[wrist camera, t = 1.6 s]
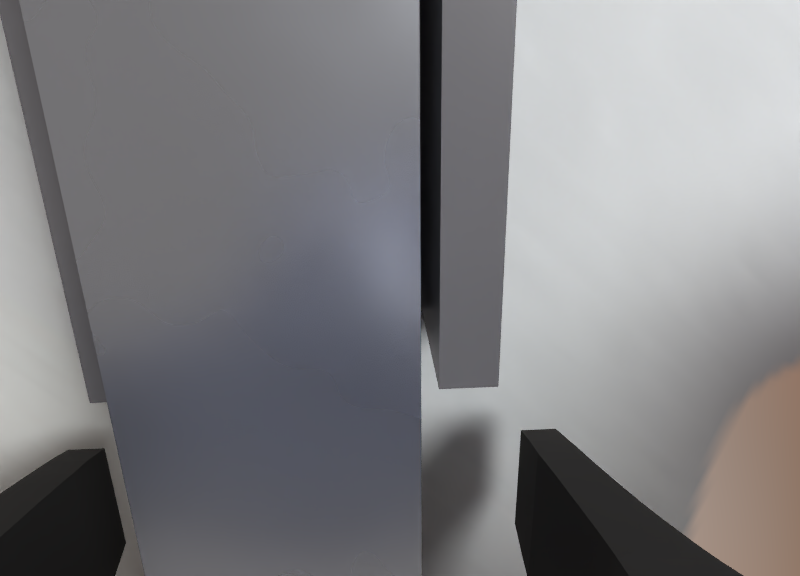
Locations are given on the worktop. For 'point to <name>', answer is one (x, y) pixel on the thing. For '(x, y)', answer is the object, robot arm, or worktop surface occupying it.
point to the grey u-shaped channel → (439, 184)
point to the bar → (249, 270)
